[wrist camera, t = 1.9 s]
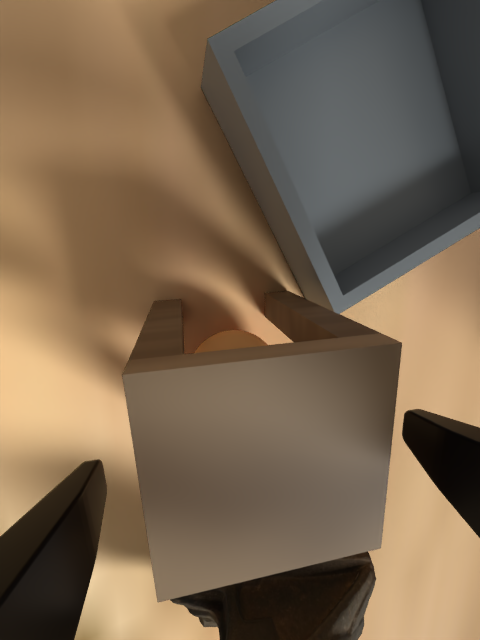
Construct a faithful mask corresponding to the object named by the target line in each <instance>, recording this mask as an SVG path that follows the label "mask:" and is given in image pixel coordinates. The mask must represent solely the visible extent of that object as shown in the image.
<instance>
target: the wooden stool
mask: <svg viewBox="0 0 480 640" xmlns="http://www.w3.org/2000/svg"><path fill="white" fill-rule="evenodd" d="M265 317H266V318H267V319H268V320H269V321H270V322H272V323H273V324H274V325H275V326H276V327H277V328H278V329H280V330H281V331H282V332H283V333H284V334H285V335H286V336H287V337H289V338H290V339H291V340H292V341H293V342H294V343H285V344H276V345H266V346H257V347H248V348H238V349H229V350H220V351H210V352H201V353H191V354H184V331H183V316H182V306H181V299H176V300H163V301H154V303H153V305H152V307H151V310H150V312H149V314H148V316H147V319H146V321H145V323H144V326H143V328H142V330H141V333H140V335H139V337H138V340H137V342H136V344H135V347H134V349H133V351H132V353H131V356H130V358H129V360H128V363H127V365H126V367H125V370H124V372H123V374H122V377H123V383H124V390H125V396H126V403H127V409H128V415H129V422H130V428H131V435H132V441H133V448H134V454H135V460H136V467H137V473H138V480H139V486H140V493H141V499H142V505H143V512H144V518H145V525H146V531H147V538H148V544H149V550H150V557H151V563H152V570H153V576H154V583H155V589H156V595H157V602H162V601H166V600H170V599H174V598H178V597H183V596H187V595H191V594H195V593H199V592H203V591H207V590H211V589H215V588H219V587H224V586H228V585H232V584H236V583H240V582H244V581H248V580H252V579H256V578H261V577H265V576H269V575H273V574H277V573H281V572H285V571H289V570H293V569H298V568H302V567H306V566H310V565H314V564H318V563H322V562H326V561H330V560H335V559H339V558H343V557H347V556H351V555H355V554H359V553H363V552H367V551H371V550H376V549H380V548H381V542H382V533H383V523H384V513H385V504H386V494H387V484H388V474H389V465H390V455H391V445H392V436H393V426H394V416H395V406H396V397H397V387H398V377H399V368H400V358H401V348H402V343H401V342H399V341H397V340H395V339H392V338H390V337H388V336H386V335H384V334H381V333H379V332H377V331H375V330H373V329H370V328H368V327H366V326H364V325H362V324H359V323H357V322H355V321H353V320H351V319H349V318H346V317H344V316H342V315H340V314H338V313H335V312H333V311H331V310H329V309H327V308H324V307H322V306H320V305H318V304H316V303H313V302H311V301H309V300H307V299H305V298H302V297H300V296H298V295H296V294H294V293H291V292H289V291H282V292H269V293H265Z"/></svg>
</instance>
